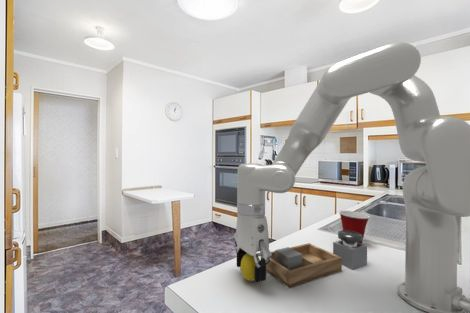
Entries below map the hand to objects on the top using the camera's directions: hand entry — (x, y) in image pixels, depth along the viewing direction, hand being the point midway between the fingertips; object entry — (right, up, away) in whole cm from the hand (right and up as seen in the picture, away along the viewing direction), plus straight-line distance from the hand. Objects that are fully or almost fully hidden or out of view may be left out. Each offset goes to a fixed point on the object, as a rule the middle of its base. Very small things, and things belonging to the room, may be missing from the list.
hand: (250, 272), depth 66 cm
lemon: (0, -3, 0) cm, 3 cm away
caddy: (+16, -2, +7) cm, 17 cm away
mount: (+32, -2, +12) cm, 34 cm away
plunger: (+32, -2, +12) cm, 34 cm away
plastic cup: (+42, -2, +28) cm, 50 cm away
